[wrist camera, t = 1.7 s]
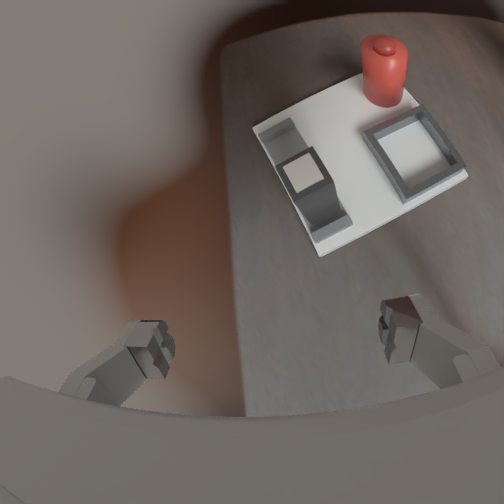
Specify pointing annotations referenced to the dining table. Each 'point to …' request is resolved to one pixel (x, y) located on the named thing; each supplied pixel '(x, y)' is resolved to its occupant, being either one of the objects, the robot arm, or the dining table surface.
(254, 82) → the dining table surface
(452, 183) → the panel
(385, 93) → the lockout cap
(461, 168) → the socket
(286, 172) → the switch knob
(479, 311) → the dining table surface
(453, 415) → the robot arm
